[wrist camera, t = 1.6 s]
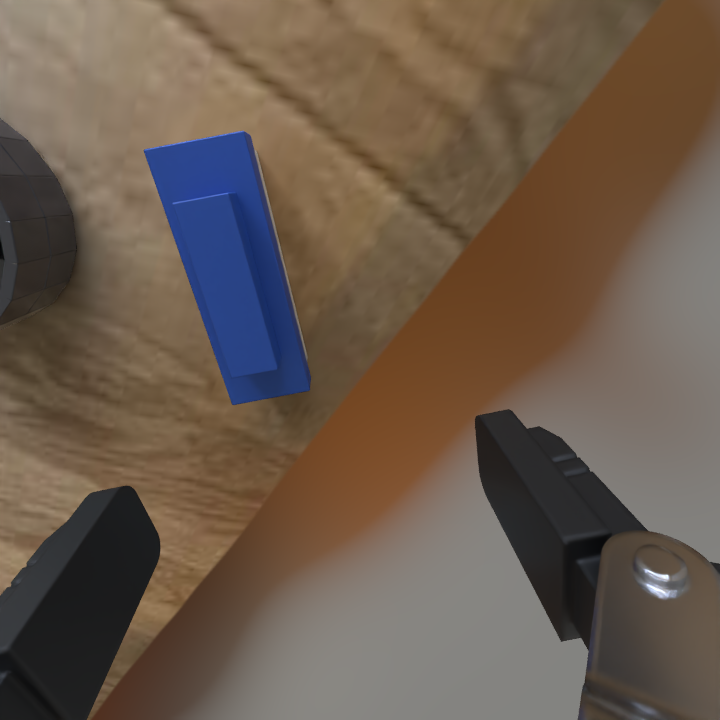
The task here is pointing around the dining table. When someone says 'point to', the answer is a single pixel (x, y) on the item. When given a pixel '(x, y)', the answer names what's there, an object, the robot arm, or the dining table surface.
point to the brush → (233, 262)
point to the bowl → (31, 231)
